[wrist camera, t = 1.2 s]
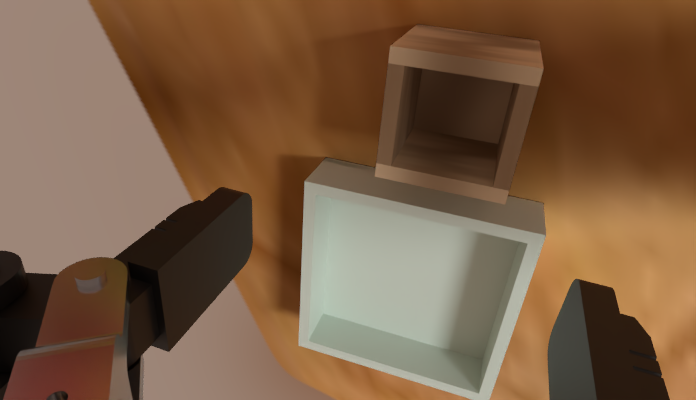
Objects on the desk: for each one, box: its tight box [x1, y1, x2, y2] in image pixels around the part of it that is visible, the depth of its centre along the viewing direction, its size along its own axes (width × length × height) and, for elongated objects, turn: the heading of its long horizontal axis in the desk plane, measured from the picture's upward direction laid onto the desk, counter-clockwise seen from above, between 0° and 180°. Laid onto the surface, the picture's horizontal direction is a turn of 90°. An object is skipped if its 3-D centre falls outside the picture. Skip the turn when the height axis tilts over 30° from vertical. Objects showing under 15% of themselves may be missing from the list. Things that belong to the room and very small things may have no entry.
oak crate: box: [375, 24, 544, 205], centre depth 23 cm, size 6×6×6 cm
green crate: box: [299, 157, 546, 400], centre depth 30 cm, size 13×13×4 cm
